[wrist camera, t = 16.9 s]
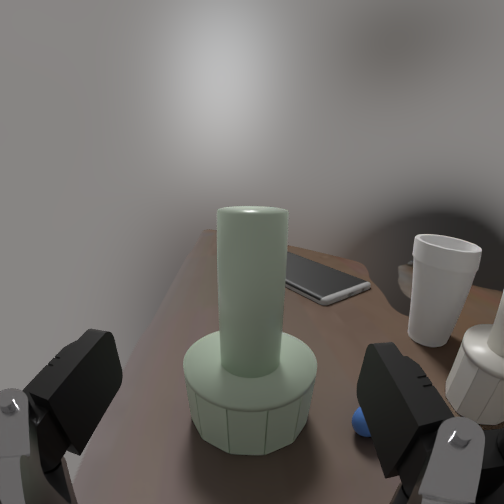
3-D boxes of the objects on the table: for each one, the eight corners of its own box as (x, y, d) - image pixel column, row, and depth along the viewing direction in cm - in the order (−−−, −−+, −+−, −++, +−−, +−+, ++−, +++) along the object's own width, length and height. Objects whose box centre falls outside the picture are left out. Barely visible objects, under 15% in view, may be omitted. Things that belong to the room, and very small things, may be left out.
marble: (354, 415, 21) (361, 391, 20) (385, 423, 20) (395, 399, 19) (343, 438, 19) (352, 415, 18) (377, 447, 17) (388, 424, 16)
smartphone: (323, 310, 43) (324, 300, 43) (235, 263, 65) (235, 256, 65) (371, 291, 50) (372, 282, 50) (282, 255, 72) (282, 248, 72)
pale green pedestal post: (234, 365, 29) (233, 199, 24) (323, 397, 24) (351, 210, 19) (167, 419, 21) (136, 214, 16) (271, 475, 16) (294, 232, 11)
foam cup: (464, 354, 27) (493, 255, 24) (402, 352, 30) (426, 247, 26) (447, 321, 36) (465, 238, 32) (394, 317, 39) (409, 231, 35)
